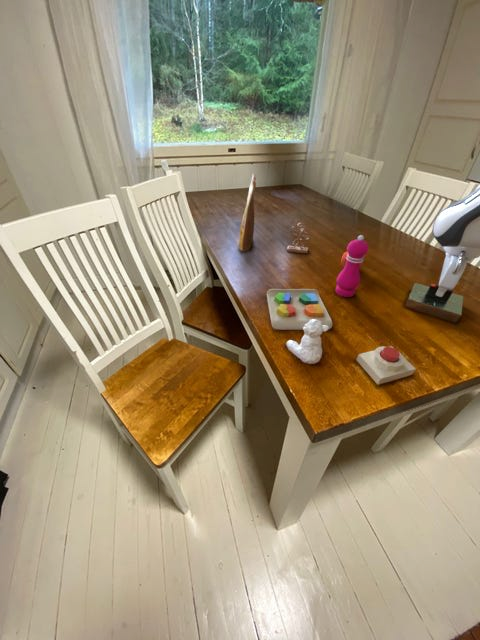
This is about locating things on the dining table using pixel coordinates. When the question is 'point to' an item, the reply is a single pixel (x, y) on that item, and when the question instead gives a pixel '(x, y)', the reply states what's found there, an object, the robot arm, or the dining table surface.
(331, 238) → the dining table surface
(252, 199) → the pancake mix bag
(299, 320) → the puzzle board
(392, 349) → the button
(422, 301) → the panel
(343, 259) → the apple
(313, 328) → the sitting furry creature
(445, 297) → the black switch lever
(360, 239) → the pepper mill
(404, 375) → the button block
